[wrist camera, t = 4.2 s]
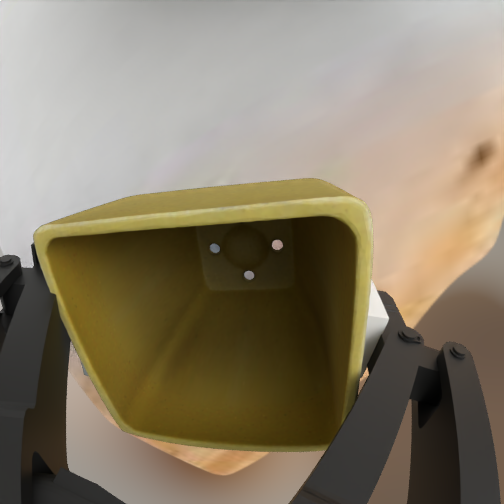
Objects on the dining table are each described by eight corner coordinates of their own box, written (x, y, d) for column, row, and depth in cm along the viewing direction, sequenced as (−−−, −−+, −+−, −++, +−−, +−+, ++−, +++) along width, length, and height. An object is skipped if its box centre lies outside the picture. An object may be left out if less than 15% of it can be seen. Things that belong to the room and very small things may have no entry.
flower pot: (180, 317, 19) (120, 436, 10) (149, 172, 15) (25, 230, 7) (330, 313, 17) (348, 451, 9) (325, 153, 14) (376, 196, 6)
